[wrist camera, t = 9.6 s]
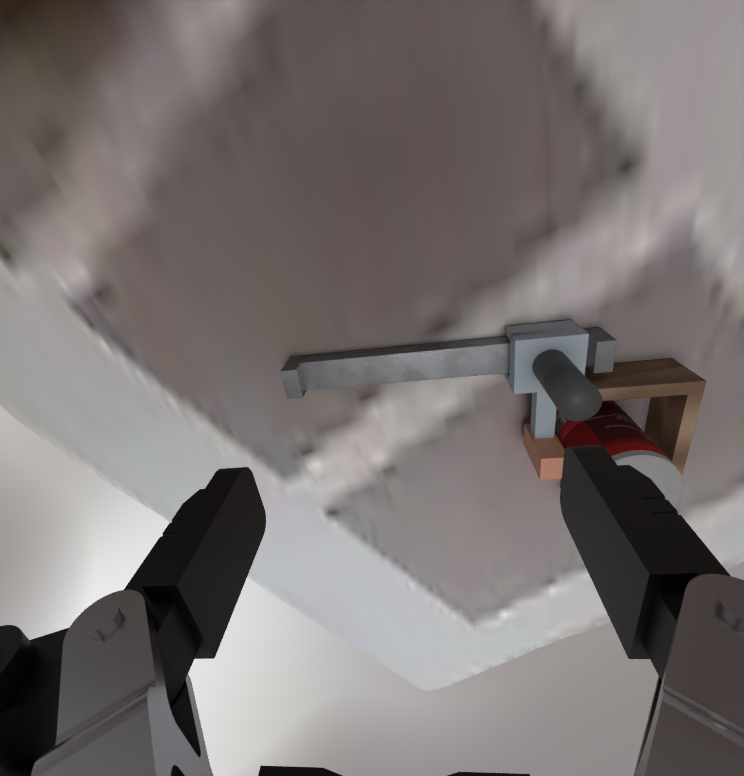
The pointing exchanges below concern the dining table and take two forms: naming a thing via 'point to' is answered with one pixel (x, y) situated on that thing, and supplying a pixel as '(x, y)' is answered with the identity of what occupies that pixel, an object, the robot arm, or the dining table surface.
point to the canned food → (623, 445)
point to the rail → (421, 363)
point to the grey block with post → (551, 386)
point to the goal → (658, 400)
